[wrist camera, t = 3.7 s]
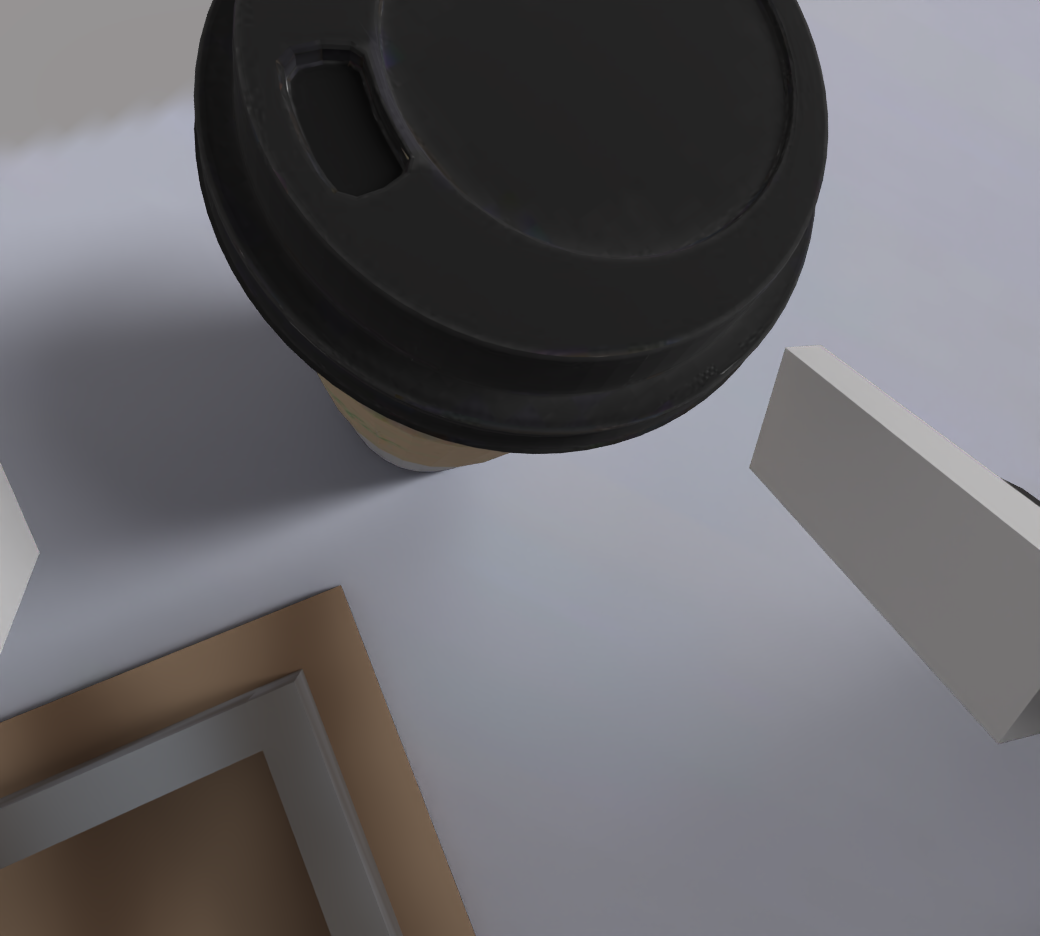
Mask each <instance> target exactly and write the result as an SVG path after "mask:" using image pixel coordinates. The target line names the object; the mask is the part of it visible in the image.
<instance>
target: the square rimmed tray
mask: <svg viewBox="0 0 1040 936" xmlns="http://www.w3.org/2000/svg"><path fill="white" fill-rule="evenodd" d="M0 936H475V933H474V931H473V928H472V925H471V923H470V920H469V917H468V915H467V912H466V910H465V907H464V904H463V902H462V899H461V897H460V894H459V891H458V889H457V886H456V884H455V881H454V878H453V876H452V873H451V871H450V868H449V865H448V863H447V860H446V858H445V855H444V852H443V850H442V847H441V845H440V842H439V839H438V837H437V834H436V832H435V829H434V826H433V824H432V821H431V819H430V816H429V813H428V811H427V808H426V806H425V803H424V800H423V798H422V795H421V792H420V790H419V787H418V785H417V782H416V779H415V777H414V774H413V772H412V769H411V766H410V764H409V761H408V759H407V756H406V753H405V751H404V748H403V746H402V743H401V740H400V738H399V735H398V733H397V730H396V727H395V725H394V722H393V720H392V717H391V714H390V712H389V709H388V707H387V704H386V701H385V699H384V696H383V694H382V691H381V688H380V686H379V683H378V681H377V678H376V675H375V673H374V670H373V668H372V665H371V662H370V660H369V657H368V654H367V652H366V649H365V647H364V644H363V641H362V639H361V636H360V634H359V631H358V628H357V626H356V623H355V621H354V618H353V615H352V613H351V610H350V608H349V605H348V602H347V600H346V597H345V595H344V592H343V589H342V587H341V585H340V586H338V587H335V588H333V589H330V590H328V591H325V592H323V593H320V594H318V595H315V596H313V597H310V598H308V599H305V600H303V601H300V602H298V603H295V604H293V605H290V606H288V607H285V608H283V609H281V610H278V611H276V612H273V613H271V614H268V615H266V616H263V617H261V618H258V619H256V620H253V621H251V622H248V623H246V624H243V625H241V626H238V627H236V628H233V629H231V630H229V631H226V632H224V633H221V634H219V635H216V636H214V637H211V638H209V639H206V640H204V641H201V642H199V643H196V644H194V645H191V646H189V647H186V648H184V649H181V650H179V651H176V652H174V653H172V654H169V655H167V656H164V657H162V658H159V659H157V660H154V661H152V662H149V663H147V664H144V665H142V666H139V667H137V668H134V669H132V670H129V671H127V672H124V673H122V674H120V675H117V676H115V677H112V678H110V679H107V680H105V681H102V682H100V683H97V684H95V685H92V686H90V687H87V688H85V689H82V690H80V691H77V692H75V693H72V694H70V695H68V696H65V697H63V698H60V699H58V700H55V701H53V702H50V703H48V704H45V705H43V706H40V707H38V708H35V709H33V710H30V711H28V712H25V713H23V714H20V715H18V716H15V717H13V718H11V719H8V720H6V721H3V722H1V723H0Z"/></svg>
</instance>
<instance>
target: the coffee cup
mask: <svg viewBox="0 0 1040 936" xmlns="http://www.w3.org/2000/svg"><path fill="white" fill-rule="evenodd" d="M194 108H195V124H194V133H195V152H196V162H197V168H198V175H199V181H200V187H201V191H202V194H203V198H204V202H205V206H206V210H207V214H208V216H209V219H210V222H211V225H212V227H213V230H214V233H215V235H216V238H217V241H218V243H219V245H220V247H221V249H222V251H223V253H224V255H225V258H226V260H227V262H228V264H229V266H230V268H231V270H232V271H233V273H234V275H235V276H236V278H237V280H238V281H239V283H240V285H241V286H242V288H243V290H244V291H245V293H246V295H247V296H248V298H249V299H250V300H251V302H252V303H253V305H254V306H255V307H256V309H257V310H258V311H259V313H260V314H261V315H262V317H263V318H264V319H265V321H266V322H267V323H268V324H269V325H270V327H271V328H272V329H273V330H274V331H275V332H276V333H277V334H278V336H279V337H280V338H281V339H282V340H283V341H284V342H285V343H286V345H287V346H289V347H290V348H291V349H292V350H293V351H294V352H295V353H296V354H297V355H298V356H299V357H300V358H301V359H302V360H303V361H304V362H306V363H307V364H308V365H309V366H310V367H311V368H312V369H314V370H315V371H316V372H317V374H318V376H319V377H320V379H321V381H322V383H323V385H324V386H325V388H326V390H327V391H328V393H329V395H330V396H331V398H332V400H333V401H334V403H335V405H336V406H337V408H338V410H339V411H340V412H341V413H342V414H343V416H344V417H345V418H346V419H347V420H348V421H349V422H350V424H351V425H352V426H353V427H354V429H355V431H356V432H357V434H358V435H359V436H360V437H361V439H362V440H363V441H364V442H365V443H366V444H367V446H368V447H369V448H370V449H371V450H373V451H374V452H375V453H376V454H378V455H379V456H380V457H382V458H383V459H384V460H386V461H388V462H390V463H392V464H394V465H396V466H398V467H400V468H405V469H409V470H414V471H428V472H436V471H442V470H447V469H453V468H456V467H460V466H466V465H471V464H477V463H482V462H486V461H489V460H491V459H494V458H497V457H499V456H502V455H505V454H508V453H526V454H548V453H566V452H574V451H582V450H589V449H594V448H599V447H603V446H608V445H613V444H616V443H619V442H622V441H626V440H629V439H632V438H635V437H638V436H641V435H643V434H645V433H648V432H650V431H652V430H654V429H657V428H659V427H661V426H664V425H665V424H667V423H669V422H671V421H672V420H674V419H676V418H678V417H680V416H681V415H683V414H685V413H686V412H688V411H689V410H691V409H692V408H694V407H695V406H696V405H698V404H699V403H701V402H702V401H704V400H705V399H706V398H707V397H709V396H710V395H711V394H712V393H713V392H714V391H716V390H717V389H718V388H719V387H720V386H721V385H723V384H724V383H725V382H726V381H727V379H728V378H729V377H730V376H731V375H732V374H733V373H734V372H735V371H736V370H737V369H738V368H739V367H740V366H741V364H742V363H743V362H744V361H745V359H746V358H747V357H748V356H749V355H750V354H751V353H752V352H753V351H754V350H755V349H756V348H757V347H758V346H759V344H760V343H761V342H762V340H763V339H764V338H765V337H766V335H767V334H768V333H769V331H770V330H771V329H772V327H773V326H774V324H775V323H776V321H777V320H778V318H779V316H780V315H781V313H782V311H783V310H784V308H785V307H786V305H787V303H788V300H789V298H790V296H791V294H792V292H793V290H794V288H795V286H796V284H797V281H798V278H799V276H800V273H801V270H802V268H803V265H804V262H805V258H806V254H807V251H808V247H809V243H810V239H811V233H812V228H813V222H814V216H815V206H816V203H817V200H818V196H819V192H820V189H821V185H822V181H823V176H824V170H825V164H826V158H827V144H828V111H827V101H826V91H825V86H824V81H823V75H822V70H821V66H820V62H819V58H818V55H817V51H816V47H815V44H814V41H813V39H812V36H811V33H810V30H809V27H808V25H807V22H806V20H805V18H804V15H803V13H802V11H801V9H800V6H799V4H798V2H797V0H213V1H212V4H211V7H210V9H209V11H208V14H207V17H206V21H205V24H204V28H203V32H202V35H201V38H200V43H199V49H198V56H197V61H196V68H195V85H194Z"/></svg>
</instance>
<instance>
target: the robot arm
mask: <svg viewBox="0 0 1040 936" xmlns="http://www.w3.org/2000/svg"><path fill="white" fill-rule="evenodd" d="M749 468H750V469H751V470H752V471H753V472H754V474H755V475H756V476H757V477H758V478H759V479H760V480H761V481H762V482H763V484H764V485H765V486H766V487H767V488H768V489H769V490H770V491H771V492H772V494H773V495H774V496H775V497H776V498H777V499H778V500H779V501H780V502H781V504H782V505H783V506H784V507H785V508H786V509H787V510H788V511H789V512H790V514H791V515H792V516H793V517H794V518H795V519H796V520H797V521H798V522H799V524H800V525H801V526H802V527H803V528H804V529H805V530H806V531H807V532H808V534H809V535H810V536H811V537H812V538H813V539H814V540H815V541H816V542H817V544H818V545H819V546H820V547H821V548H822V549H823V550H824V551H825V552H826V554H827V555H828V556H829V557H830V558H831V559H832V560H833V561H834V562H835V564H836V565H837V566H838V567H839V568H840V569H841V570H842V571H843V572H844V574H845V575H846V576H847V577H848V578H849V579H850V580H851V581H852V582H853V584H854V585H855V586H856V587H857V588H858V589H859V590H860V591H861V592H862V594H863V595H864V596H865V597H866V598H867V599H868V600H869V601H870V602H871V604H872V605H873V606H874V607H875V608H876V609H877V610H878V611H879V612H880V614H881V615H882V616H883V617H884V618H885V619H886V620H887V621H888V622H889V624H890V625H891V626H892V627H893V628H894V629H895V630H896V631H897V632H898V634H899V635H900V636H901V637H902V638H903V639H904V640H905V641H906V642H907V644H908V645H909V646H910V647H911V648H912V649H913V650H914V651H915V652H916V654H917V655H918V656H919V657H920V658H921V659H922V660H923V661H924V662H925V664H926V665H927V666H928V667H929V668H930V669H931V670H932V671H933V672H934V674H935V675H936V676H937V677H938V678H939V679H940V680H941V681H942V682H943V684H944V685H945V686H946V687H947V688H948V689H949V690H950V691H951V692H952V694H953V695H954V696H955V697H956V698H957V699H958V700H959V701H960V702H961V704H962V705H963V706H964V707H965V708H966V709H967V710H968V711H969V712H970V714H971V715H972V716H973V717H974V718H975V719H976V720H977V721H978V722H979V724H980V725H981V726H982V727H983V728H984V729H985V730H986V731H987V732H988V734H989V735H990V736H991V737H992V738H993V739H994V740H995V741H996V742H997V744H1000V743H1004V742H1008V741H1012V740H1016V739H1020V738H1024V737H1028V736H1032V735H1036V734H1040V501H1039V500H1038V499H1036V498H1035V497H1033V496H1032V495H1031V494H1029V493H1028V492H1027V491H1025V490H1024V489H1022V488H1020V487H1018V486H1016V485H1014V484H1012V483H1010V482H1008V481H1006V480H1004V479H1002V478H1000V477H998V476H997V475H996V474H994V473H993V472H992V471H990V470H989V469H987V468H986V467H985V466H983V465H982V464H981V463H979V462H978V461H977V460H975V459H974V458H973V457H971V456H970V455H969V454H967V453H966V452H964V451H963V450H962V449H960V448H959V447H958V446H956V445H955V444H954V443H952V442H951V441H950V440H948V439H947V438H946V437H944V436H943V435H942V434H940V433H939V432H937V431H936V430H935V429H933V428H932V427H931V426H929V425H928V424H927V423H925V422H924V421H923V420H921V419H920V418H919V417H917V416H916V415H914V414H913V413H912V412H910V411H909V410H908V409H906V408H905V407H904V406H902V405H901V404H900V403H898V402H897V401H896V400H894V399H893V398H892V397H890V396H889V395H887V394H886V393H885V392H883V391H882V390H881V389H879V388H878V387H877V386H875V385H874V384H873V383H871V382H870V381H869V380H867V379H866V378H865V377H863V376H862V375H860V374H859V373H858V372H856V371H855V370H854V369H852V368H851V367H850V366H848V365H847V364H846V363H844V362H843V361H842V360H840V359H839V358H837V357H836V356H835V355H833V354H832V353H831V352H829V351H828V350H827V349H825V348H824V347H823V346H821V345H815V346H801V347H787V348H785V351H784V354H783V358H782V361H781V364H780V368H779V371H778V374H777V378H776V381H775V384H774V388H773V391H772V394H771V398H770V401H769V404H768V408H767V411H766V414H765V418H764V421H763V424H762V427H761V431H760V434H759V437H758V441H757V444H756V447H755V451H754V454H753V457H752V461H751V464H750V467H749ZM39 553H40V552H39V550H38V548H37V545H36V543H35V541H34V538H33V536H32V534H31V532H30V529H29V527H28V525H27V522H26V520H25V518H24V516H23V513H22V511H21V509H20V506H19V504H18V502H17V500H16V497H15V495H14V493H13V490H12V488H11V486H10V483H9V481H8V479H7V477H6V474H5V472H4V470H3V467H2V465H1V463H0V654H1V651H2V649H3V646H4V643H5V641H6V638H7V636H8V633H9V631H10V628H11V625H12V623H13V620H14V618H15V615H16V612H17V610H18V607H19V605H20V602H21V600H22V597H23V594H24V592H25V589H26V587H27V584H28V581H29V579H30V576H31V574H32V571H33V569H34V566H35V563H36V561H37V558H38V556H39Z"/></svg>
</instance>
